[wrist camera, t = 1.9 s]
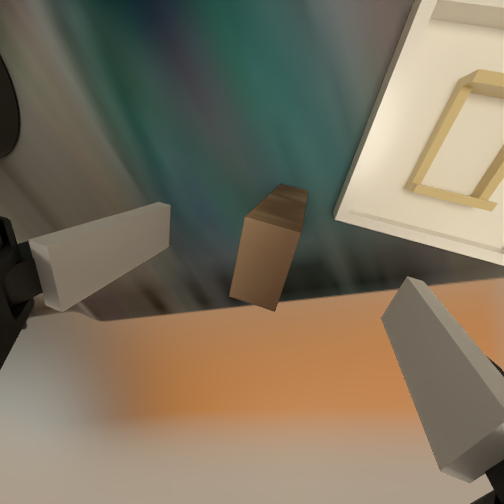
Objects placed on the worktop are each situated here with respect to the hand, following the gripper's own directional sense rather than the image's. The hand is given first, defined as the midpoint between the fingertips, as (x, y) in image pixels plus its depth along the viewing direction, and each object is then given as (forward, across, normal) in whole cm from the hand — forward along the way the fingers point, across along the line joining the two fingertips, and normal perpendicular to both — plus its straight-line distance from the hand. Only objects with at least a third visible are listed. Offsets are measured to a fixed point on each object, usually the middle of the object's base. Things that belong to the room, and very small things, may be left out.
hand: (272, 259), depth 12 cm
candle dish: (+10, +10, +8) cm, 17 cm away
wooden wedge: (+10, 0, 0) cm, 10 cm away
